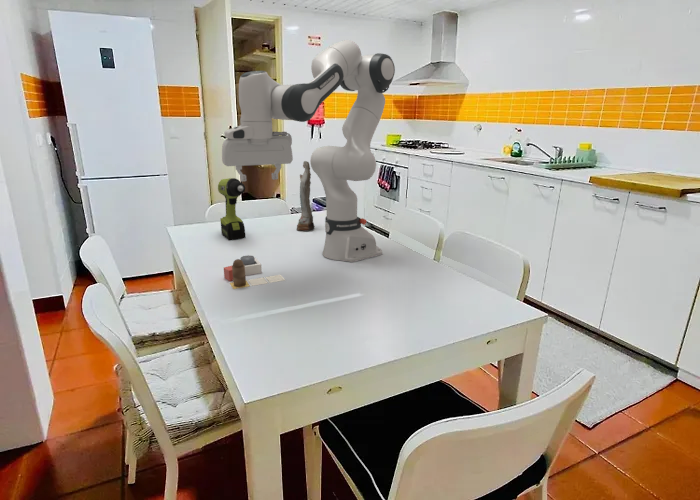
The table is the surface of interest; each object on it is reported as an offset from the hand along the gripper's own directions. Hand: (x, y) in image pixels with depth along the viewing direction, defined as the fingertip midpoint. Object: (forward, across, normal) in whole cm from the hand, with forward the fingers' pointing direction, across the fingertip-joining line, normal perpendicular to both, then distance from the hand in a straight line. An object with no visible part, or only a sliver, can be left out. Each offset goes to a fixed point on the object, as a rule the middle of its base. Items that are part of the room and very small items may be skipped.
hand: (259, 180), depth 125 cm
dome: (+29, +4, -5) cm, 30 cm away
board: (+31, +4, 0) cm, 31 cm away
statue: (+31, -32, -47) cm, 65 cm away
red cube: (+30, +10, -1) cm, 32 cm away
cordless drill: (+31, -1, -45) cm, 55 cm away
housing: (+30, +4, -5) cm, 31 cm away
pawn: (+30, +9, +5) cm, 32 cm away
